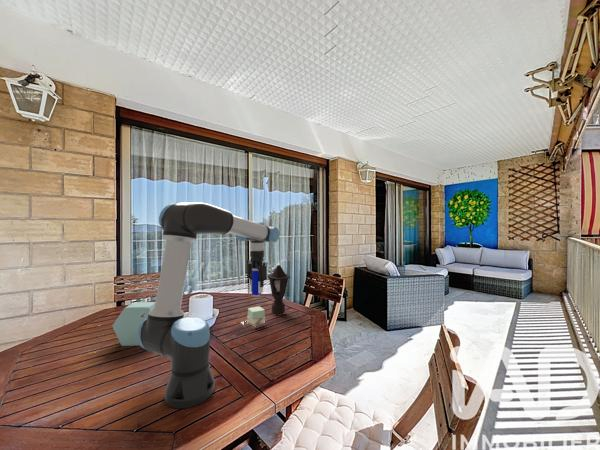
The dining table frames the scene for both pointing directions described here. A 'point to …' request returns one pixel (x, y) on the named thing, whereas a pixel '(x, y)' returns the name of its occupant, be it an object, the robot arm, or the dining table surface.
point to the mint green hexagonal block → (131, 322)
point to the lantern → (278, 289)
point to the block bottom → (255, 321)
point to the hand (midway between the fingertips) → (256, 291)
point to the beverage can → (255, 282)
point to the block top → (256, 312)
